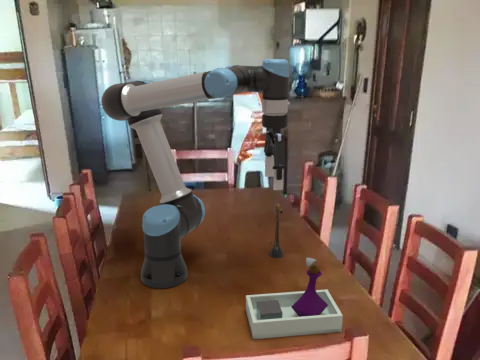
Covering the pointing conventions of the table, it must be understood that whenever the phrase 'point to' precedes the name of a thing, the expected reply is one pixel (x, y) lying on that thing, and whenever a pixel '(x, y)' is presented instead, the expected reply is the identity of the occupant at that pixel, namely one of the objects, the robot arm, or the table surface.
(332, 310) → the tray
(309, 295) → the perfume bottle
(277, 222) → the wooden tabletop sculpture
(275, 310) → the block
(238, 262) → the table surface
